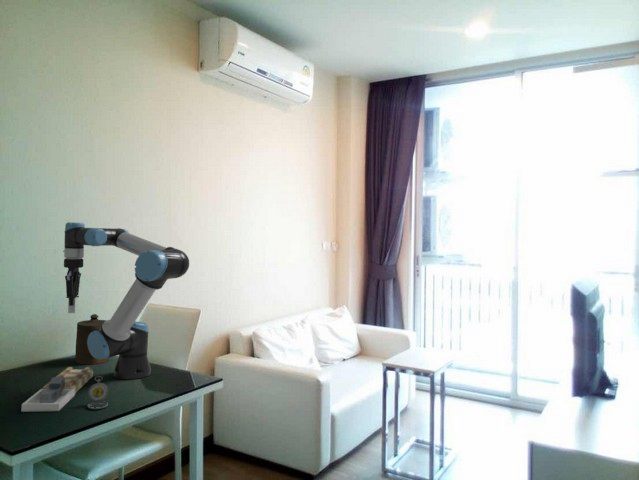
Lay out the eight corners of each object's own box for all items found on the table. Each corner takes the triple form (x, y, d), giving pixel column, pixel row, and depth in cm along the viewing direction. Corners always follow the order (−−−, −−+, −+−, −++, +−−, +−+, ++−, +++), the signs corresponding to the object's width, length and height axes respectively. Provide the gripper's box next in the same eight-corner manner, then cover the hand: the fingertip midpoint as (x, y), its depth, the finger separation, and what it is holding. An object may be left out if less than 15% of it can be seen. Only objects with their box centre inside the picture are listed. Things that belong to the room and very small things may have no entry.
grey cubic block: (44, 390, 176) (39, 394, 172) (56, 390, 177) (51, 393, 173) (44, 401, 176) (39, 405, 172) (55, 401, 177) (51, 405, 173)
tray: (40, 395, 183) (40, 389, 183) (74, 395, 185) (74, 388, 185) (21, 411, 167) (21, 404, 167) (58, 411, 169) (59, 403, 169)
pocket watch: (94, 411, 170) (95, 383, 170) (80, 406, 174) (81, 378, 174) (115, 405, 177) (116, 377, 177) (101, 400, 181) (102, 373, 181)
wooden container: (114, 356, 240) (115, 312, 240) (101, 365, 226) (103, 317, 225) (84, 355, 240) (85, 311, 240) (69, 364, 225) (70, 316, 225)
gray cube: (53, 385, 185) (52, 377, 184) (65, 385, 185) (64, 376, 184) (49, 392, 181) (48, 383, 180) (61, 392, 182) (60, 383, 180)
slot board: (65, 376, 207) (65, 366, 207) (92, 376, 209) (93, 366, 209) (42, 395, 183) (42, 384, 183) (73, 395, 185) (73, 384, 185)
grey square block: (48, 397, 180) (49, 386, 180) (60, 397, 181) (60, 386, 181) (44, 401, 176) (44, 390, 176) (56, 401, 177) (56, 390, 177)
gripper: (69, 257, 216) (68, 310, 216) (58, 258, 203) (57, 315, 204) (87, 257, 217) (86, 310, 218) (78, 259, 204) (76, 315, 205)
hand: (72, 312), depth 211 cm, fingers closed
